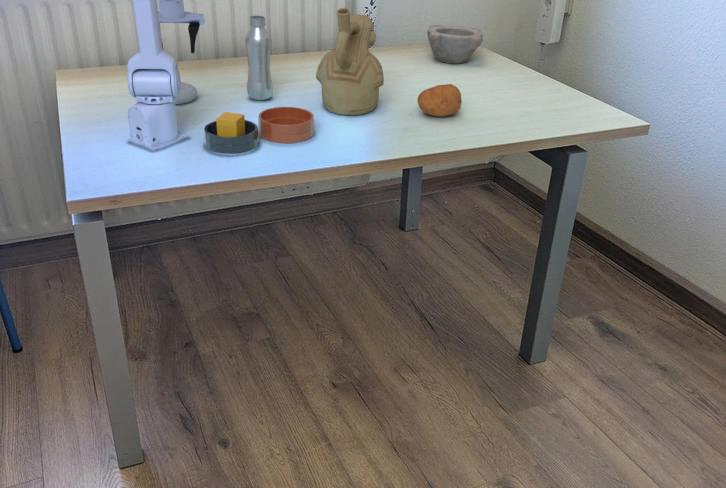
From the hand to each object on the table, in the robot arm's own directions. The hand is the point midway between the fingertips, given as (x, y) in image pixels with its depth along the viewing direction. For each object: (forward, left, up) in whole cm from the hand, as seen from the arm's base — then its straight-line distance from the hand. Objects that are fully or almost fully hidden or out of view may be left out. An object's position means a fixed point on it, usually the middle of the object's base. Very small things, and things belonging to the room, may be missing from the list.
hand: (177, 51), depth 165 cm
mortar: (+77, -38, -11) cm, 86 cm away
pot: (-17, -34, -11) cm, 40 cm away
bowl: (-5, -39, -11) cm, 41 cm away
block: (-17, -34, -10) cm, 40 cm away
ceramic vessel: (+19, -39, -11) cm, 45 cm away
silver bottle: (+10, -18, -11) cm, 23 cm away
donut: (-4, -3, -11) cm, 12 cm away
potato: (+29, -59, -11) cm, 67 cm away
